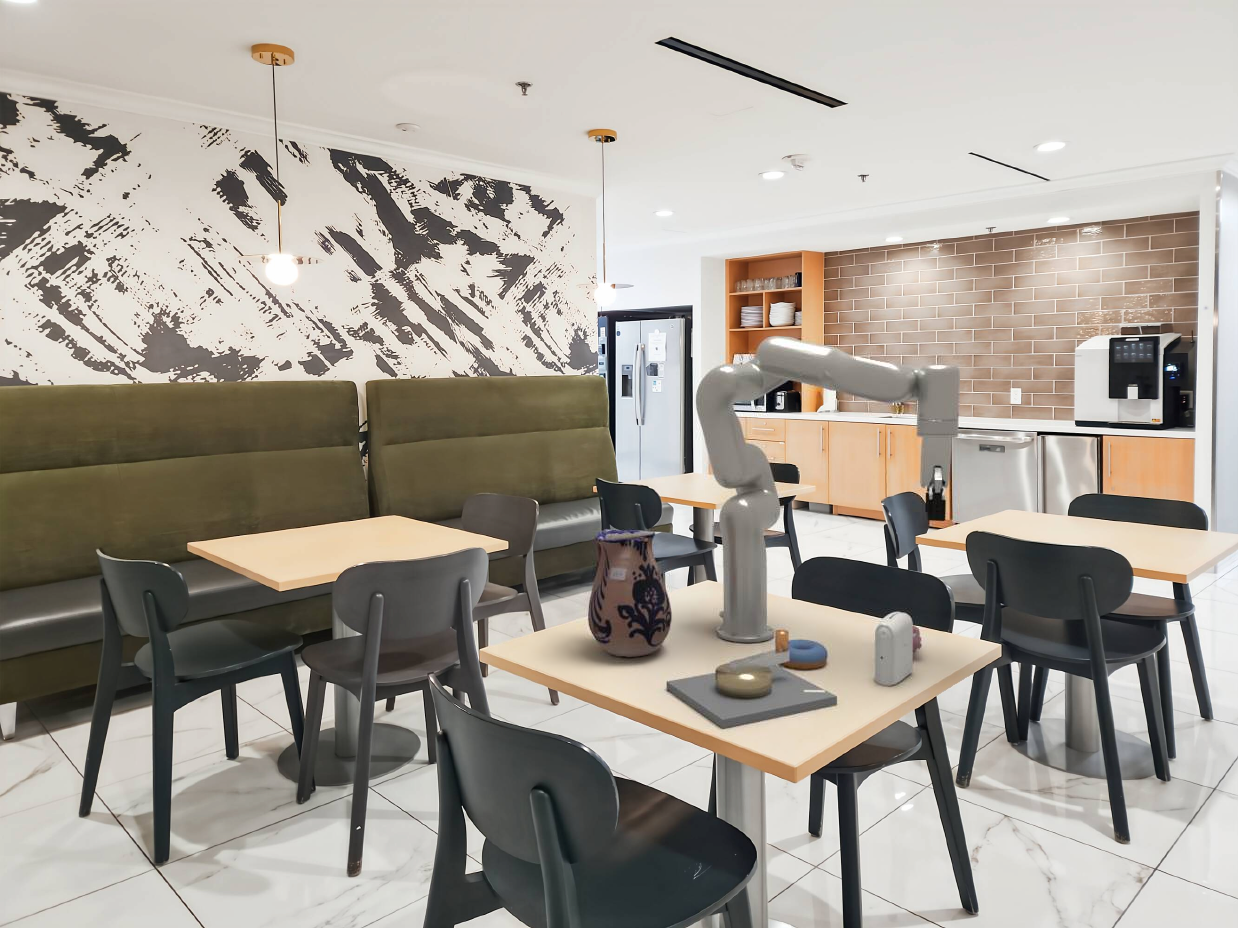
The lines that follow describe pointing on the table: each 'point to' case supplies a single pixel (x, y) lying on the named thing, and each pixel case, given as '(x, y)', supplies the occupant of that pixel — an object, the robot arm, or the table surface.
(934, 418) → the robot arm
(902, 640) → the photo printer
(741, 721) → the stand
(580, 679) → the table surface
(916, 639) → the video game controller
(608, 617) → the ceramic pitcher
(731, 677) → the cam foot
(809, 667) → the doughnut
